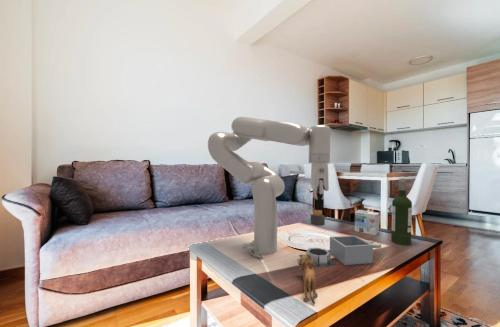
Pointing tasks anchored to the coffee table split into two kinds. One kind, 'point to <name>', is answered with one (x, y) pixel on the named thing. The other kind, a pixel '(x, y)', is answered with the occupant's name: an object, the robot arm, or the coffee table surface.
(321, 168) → the robot arm
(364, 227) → the light bulb box
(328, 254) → the socket plate
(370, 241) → the adjustable wrench
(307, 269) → the lion figurine
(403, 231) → the wine bottle
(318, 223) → the strut
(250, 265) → the coffee table surface
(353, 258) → the bin
